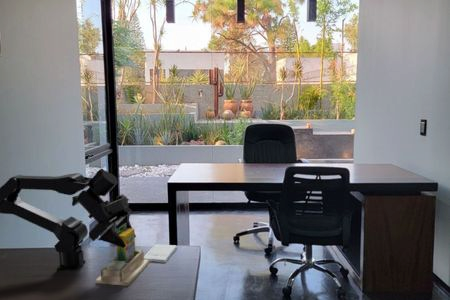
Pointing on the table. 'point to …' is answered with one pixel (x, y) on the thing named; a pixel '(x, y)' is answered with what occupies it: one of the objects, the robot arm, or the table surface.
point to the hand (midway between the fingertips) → (130, 242)
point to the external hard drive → (160, 253)
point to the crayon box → (129, 240)
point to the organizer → (123, 270)
